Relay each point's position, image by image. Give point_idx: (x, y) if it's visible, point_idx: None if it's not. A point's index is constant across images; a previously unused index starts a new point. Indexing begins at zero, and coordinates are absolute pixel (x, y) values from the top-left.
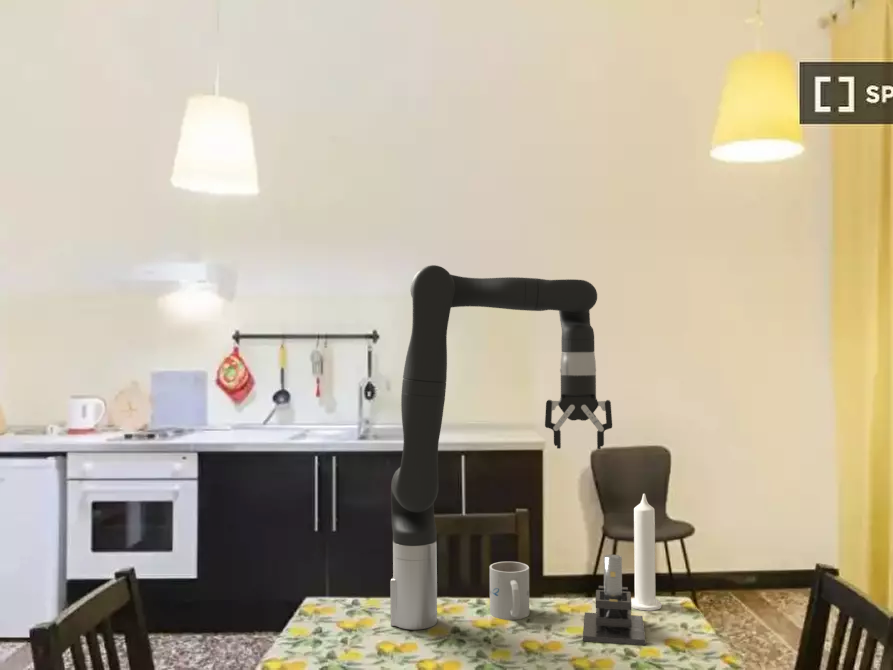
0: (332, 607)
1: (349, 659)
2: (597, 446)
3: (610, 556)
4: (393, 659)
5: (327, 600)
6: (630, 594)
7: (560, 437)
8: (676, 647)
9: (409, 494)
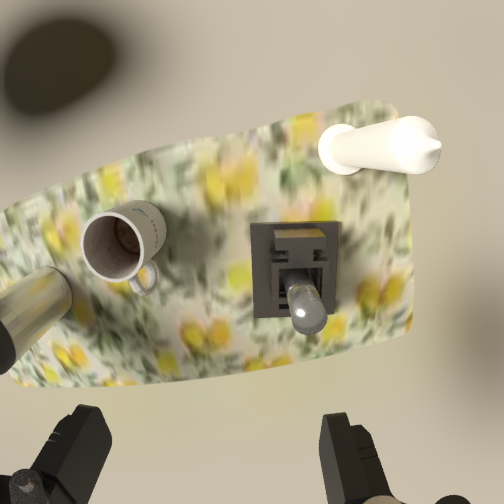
0: None
1: (55, 382)
2: (321, 460)
3: (305, 318)
4: (83, 381)
5: None
6: (328, 274)
7: (81, 458)
8: (367, 308)
9: None
